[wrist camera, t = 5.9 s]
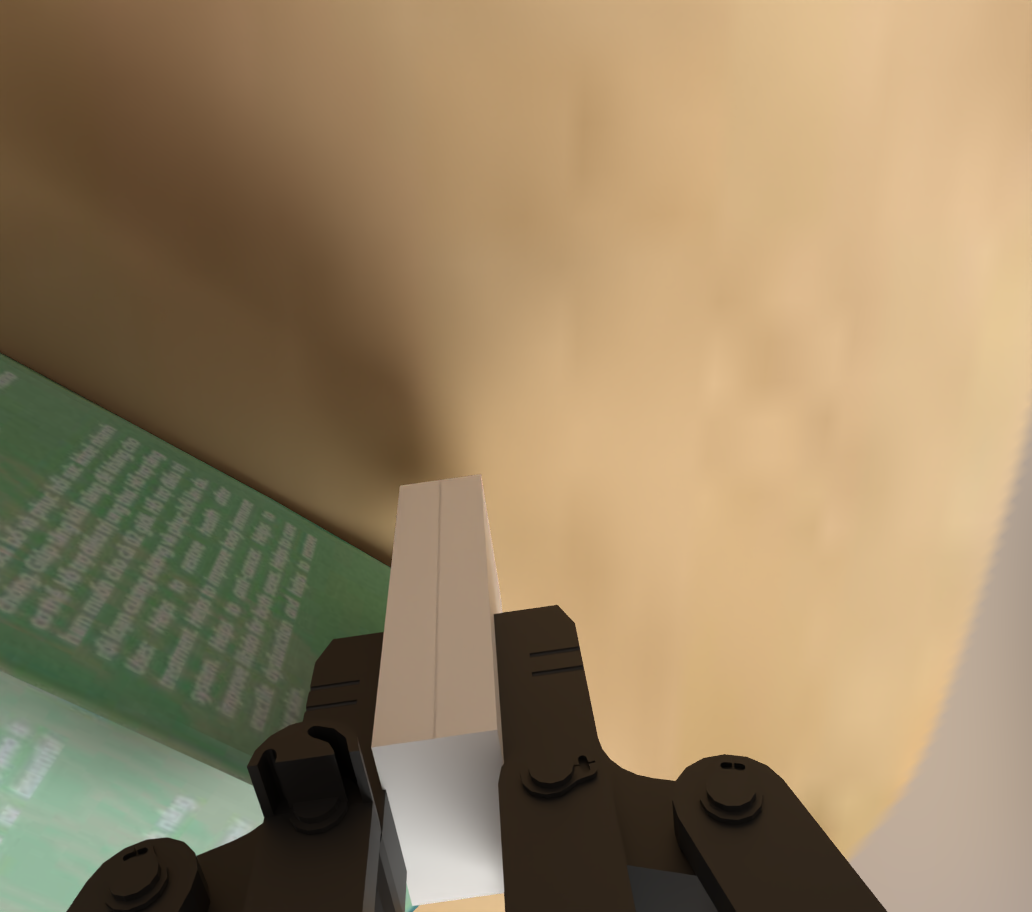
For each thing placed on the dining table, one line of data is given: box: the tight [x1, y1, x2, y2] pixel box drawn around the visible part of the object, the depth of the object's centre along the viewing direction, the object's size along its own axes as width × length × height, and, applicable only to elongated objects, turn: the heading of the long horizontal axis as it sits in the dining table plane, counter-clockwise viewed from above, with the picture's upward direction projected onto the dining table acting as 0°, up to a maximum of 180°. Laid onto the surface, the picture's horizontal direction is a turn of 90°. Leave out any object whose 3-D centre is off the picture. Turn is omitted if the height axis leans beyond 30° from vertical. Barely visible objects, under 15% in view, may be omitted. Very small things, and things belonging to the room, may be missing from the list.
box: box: [0, 353, 419, 912], centre depth 16 cm, size 7×14×8 cm, turn 55°
